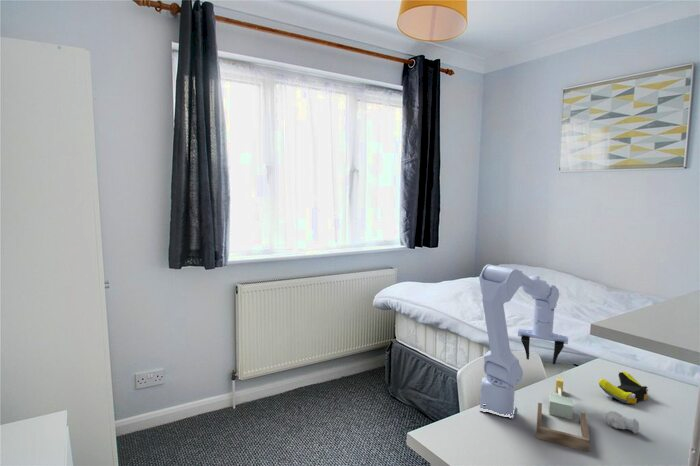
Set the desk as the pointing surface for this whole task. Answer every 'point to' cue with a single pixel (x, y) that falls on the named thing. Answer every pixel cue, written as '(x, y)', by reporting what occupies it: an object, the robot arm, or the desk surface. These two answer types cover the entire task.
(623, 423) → the smooth white sculpture
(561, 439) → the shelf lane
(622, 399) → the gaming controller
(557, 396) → the tethered block
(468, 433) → the desk surface
